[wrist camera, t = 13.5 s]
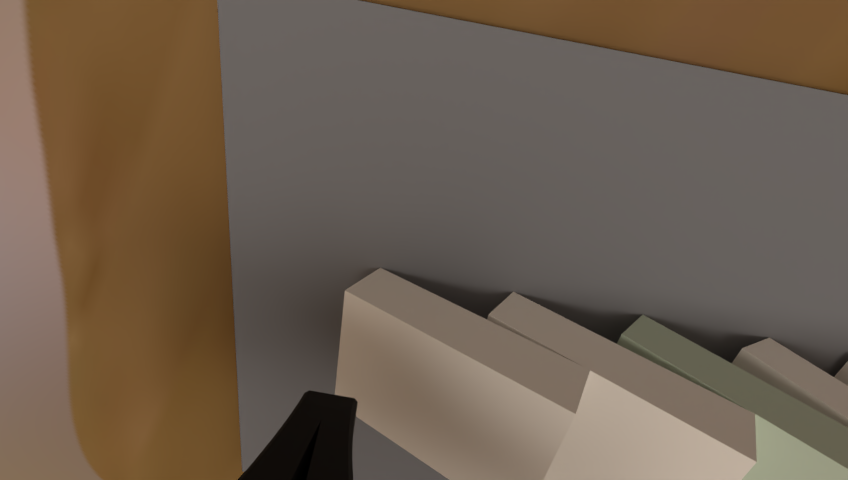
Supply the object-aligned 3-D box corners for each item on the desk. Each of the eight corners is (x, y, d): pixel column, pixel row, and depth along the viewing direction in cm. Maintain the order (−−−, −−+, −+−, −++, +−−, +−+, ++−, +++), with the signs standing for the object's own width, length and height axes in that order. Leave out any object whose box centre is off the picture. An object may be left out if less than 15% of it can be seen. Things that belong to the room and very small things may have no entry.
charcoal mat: (772, 551, 20) (777, 560, 20) (246, 463, 20) (242, 471, 19) (1184, 160, 11) (1207, 164, 11) (223, -26, 11) (216, -28, 10)
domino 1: (380, 267, 14) (590, 370, 11) (365, 372, 16) (537, 478, 13) (344, 290, 12) (575, 414, 10) (334, 401, 15) (519, 527, 12)
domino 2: (513, 291, 14) (755, 414, 11) (480, 392, 16) (673, 518, 13) (488, 314, 13) (756, 461, 9) (456, 420, 15) (664, 569, 12)
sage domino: (642, 314, 14) (931, 473, 10) (592, 411, 16) (811, 573, 12) (621, 334, 13) (939, 524, 9) (570, 435, 15) (805, 624, 11)
